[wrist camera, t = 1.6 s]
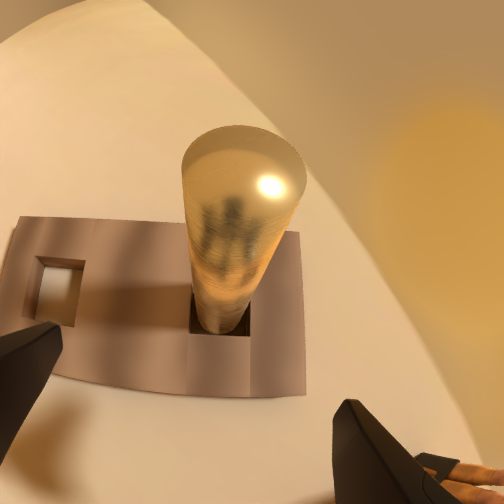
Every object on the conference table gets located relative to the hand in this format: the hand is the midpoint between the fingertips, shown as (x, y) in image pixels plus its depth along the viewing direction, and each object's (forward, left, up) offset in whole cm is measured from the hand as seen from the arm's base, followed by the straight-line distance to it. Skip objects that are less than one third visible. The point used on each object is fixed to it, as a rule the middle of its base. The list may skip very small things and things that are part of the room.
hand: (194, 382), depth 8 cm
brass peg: (+5, +2, -12) cm, 13 cm away
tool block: (+1, +7, -12) cm, 14 cm away
